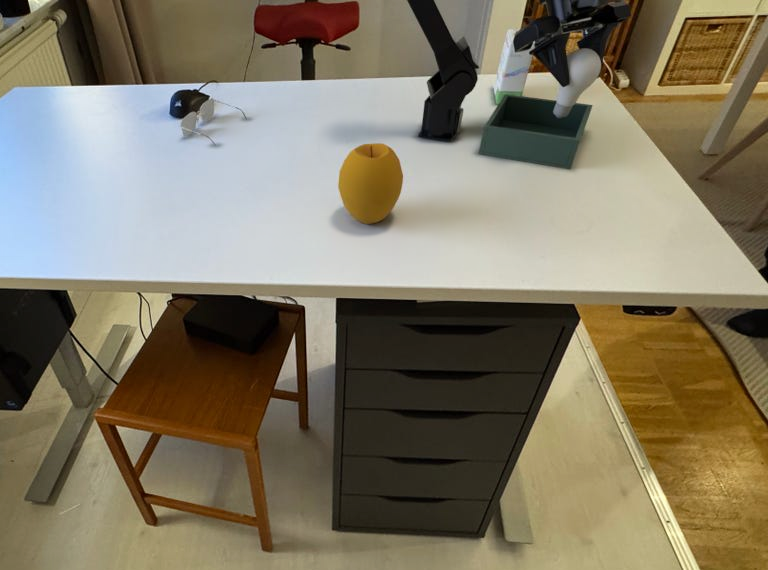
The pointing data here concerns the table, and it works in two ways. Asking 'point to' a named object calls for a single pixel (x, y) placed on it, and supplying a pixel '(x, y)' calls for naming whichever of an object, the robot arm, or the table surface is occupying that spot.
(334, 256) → the table surface
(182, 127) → the eyeglasses
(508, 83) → the ink box
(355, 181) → the apple
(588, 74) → the lightbulb
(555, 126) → the bin
